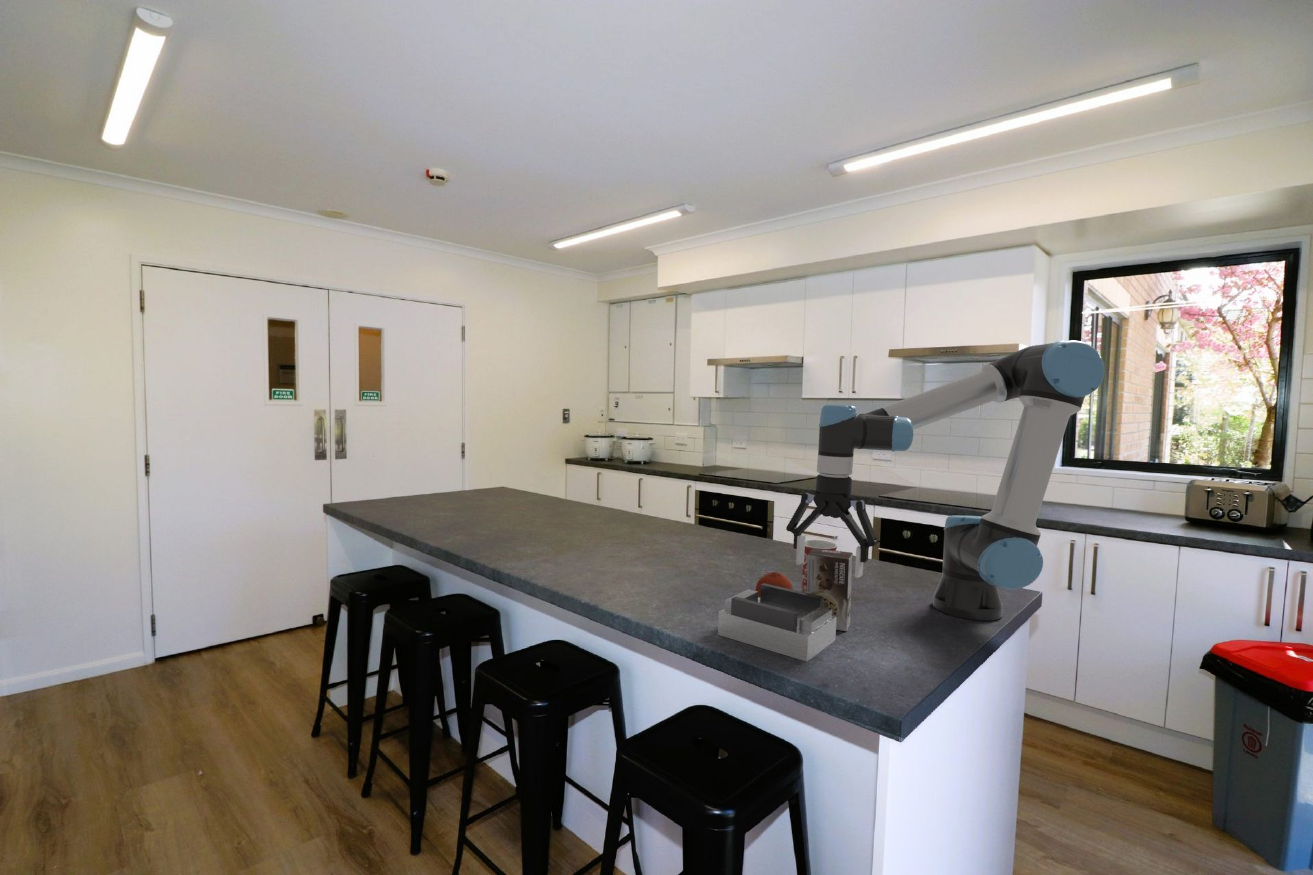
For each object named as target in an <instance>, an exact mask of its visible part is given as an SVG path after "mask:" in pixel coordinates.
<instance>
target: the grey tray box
mask: <svg viewBox="0 0 1313 875" xmlns="http://www.w3.org/2000/svg"><path fill="white" fill-rule="evenodd" d="M717 617H718V622H717V635H718V636H721V637H725V638H727V639H731V640H735V641H738V642H741V643H744V644H747V645H749V646H750V645H751V646H754V647H757V648H761V649H764V650H767V651H770V652H773V653H777V654H781V655H784V656H786V657H790V658H793V659H797V660H800V661H803V662H806V663H807V662H809V661H810V660H812V659H813V658H814V657H815V656H817V655H818V654H819V653H821V652H822V651H824V649H826V648H827V647H829V645H831V644H832V643H834V642H835V641H836V636H837V634H836V633H837V630H836V616H832V609H828V608H824V607H823V597H822V596H817V595H813V594H809V593H804V592H802V591H798V590H795V589H793V590H791V589H787V588H783V587H778V586H774V585H770V584H765V583H763V584H761V590H760V598H759V597H758V591H755V589H753V590H752V589H749V588H748V589H746V590H743V591H741V592H739V593H737V594H735V595H733V596H731V597H728V598H727V599H725V600H724V608H723V609H721V610H719V611H718V616H717Z"/></svg>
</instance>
